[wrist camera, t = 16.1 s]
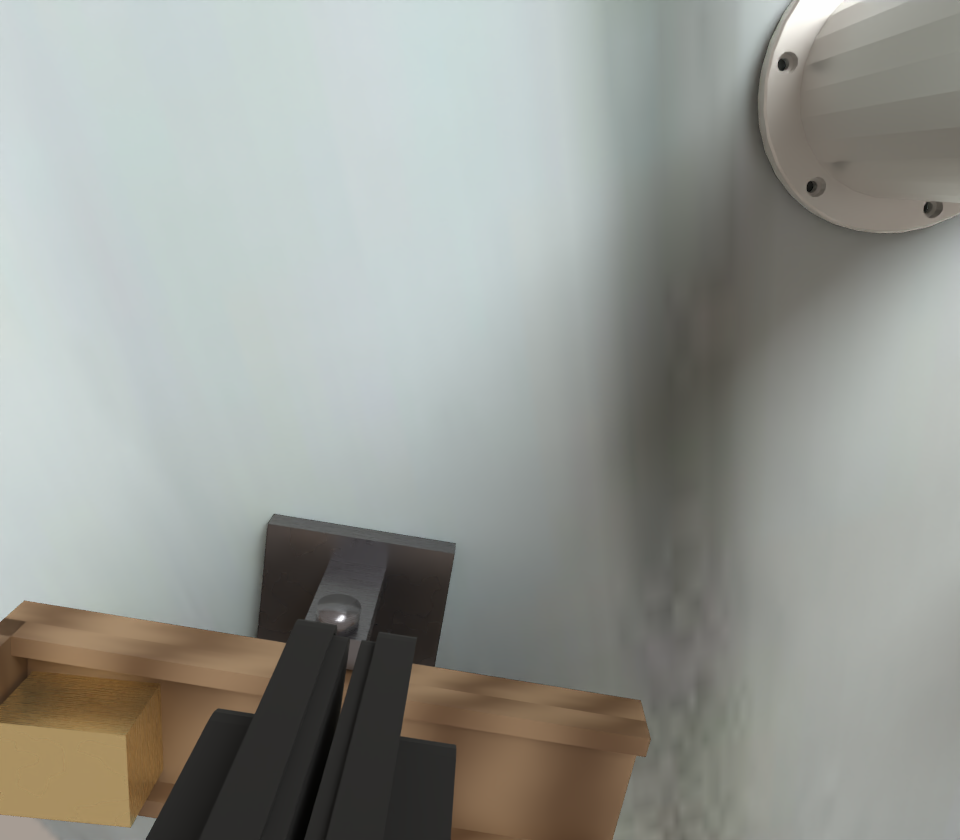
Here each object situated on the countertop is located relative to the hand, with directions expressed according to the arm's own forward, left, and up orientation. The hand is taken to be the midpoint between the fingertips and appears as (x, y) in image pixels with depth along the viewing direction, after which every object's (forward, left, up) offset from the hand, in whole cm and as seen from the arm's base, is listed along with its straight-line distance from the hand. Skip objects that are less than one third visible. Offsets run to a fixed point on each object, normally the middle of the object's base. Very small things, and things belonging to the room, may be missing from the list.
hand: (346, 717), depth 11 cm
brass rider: (+14, +20, -21) cm, 33 cm away
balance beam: (+3, +20, -22) cm, 30 cm away
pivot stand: (+3, +20, -29) cm, 35 cm away
